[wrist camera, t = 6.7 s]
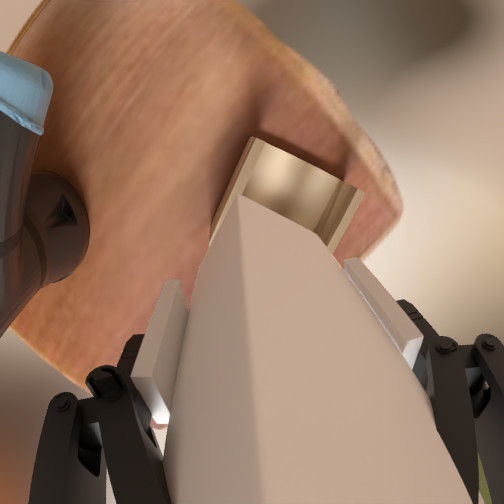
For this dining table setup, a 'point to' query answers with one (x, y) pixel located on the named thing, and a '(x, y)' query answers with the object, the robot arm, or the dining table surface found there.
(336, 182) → the u rest
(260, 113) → the dining table surface
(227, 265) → the milk
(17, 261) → the robot arm
